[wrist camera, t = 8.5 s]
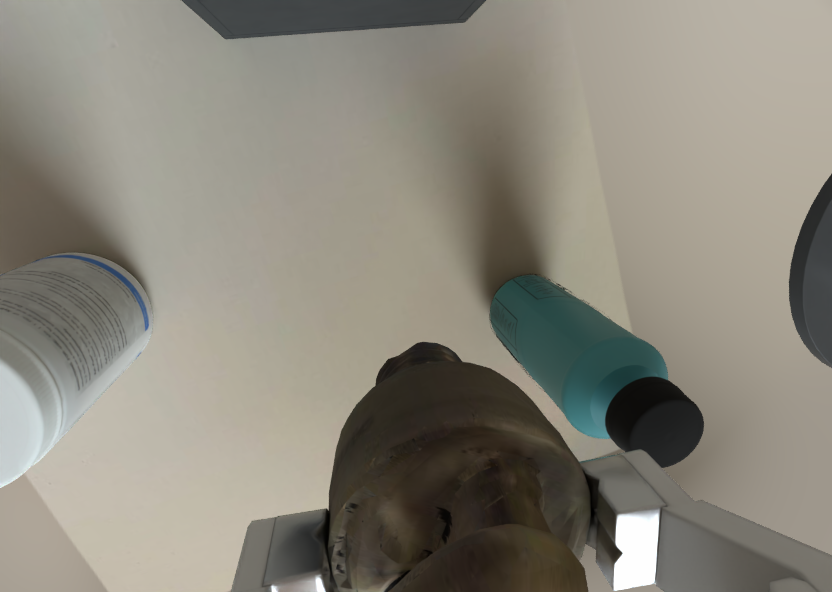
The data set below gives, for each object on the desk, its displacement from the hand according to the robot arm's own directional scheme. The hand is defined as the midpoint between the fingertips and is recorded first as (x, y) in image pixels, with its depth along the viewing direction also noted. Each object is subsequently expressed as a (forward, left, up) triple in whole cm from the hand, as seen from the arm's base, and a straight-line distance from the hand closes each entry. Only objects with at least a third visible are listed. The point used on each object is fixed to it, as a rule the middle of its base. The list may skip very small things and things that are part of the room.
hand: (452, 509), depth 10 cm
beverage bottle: (-12, +7, -29) cm, 32 cm away
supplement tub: (+22, +3, -29) cm, 37 cm away
